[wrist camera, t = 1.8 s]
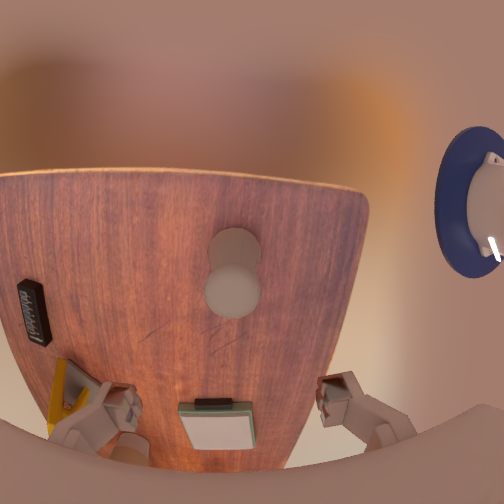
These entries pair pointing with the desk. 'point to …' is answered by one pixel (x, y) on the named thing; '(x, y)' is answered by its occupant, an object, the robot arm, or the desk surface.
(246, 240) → the salt shaker
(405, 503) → the robot arm
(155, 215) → the desk surface
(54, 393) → the toy computer monitor
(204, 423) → the scale
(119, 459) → the coffee cup
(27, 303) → the multiport hub
